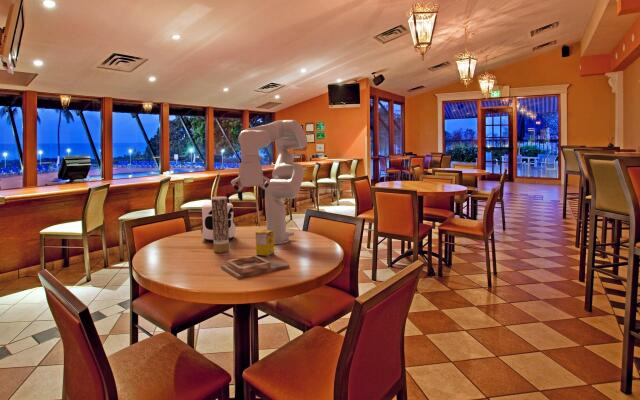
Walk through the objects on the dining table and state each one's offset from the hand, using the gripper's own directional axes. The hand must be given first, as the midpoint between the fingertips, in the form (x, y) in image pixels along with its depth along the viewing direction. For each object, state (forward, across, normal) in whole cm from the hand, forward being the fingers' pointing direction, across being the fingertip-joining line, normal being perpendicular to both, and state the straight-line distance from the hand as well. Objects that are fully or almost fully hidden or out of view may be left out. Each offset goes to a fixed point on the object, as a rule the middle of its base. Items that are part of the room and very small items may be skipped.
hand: (251, 199), depth 172 cm
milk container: (+26, +8, -37) cm, 46 cm away
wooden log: (+25, +11, -13) cm, 31 cm away
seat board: (+25, +5, +18) cm, 31 cm away
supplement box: (+25, -4, +2) cm, 26 cm away
